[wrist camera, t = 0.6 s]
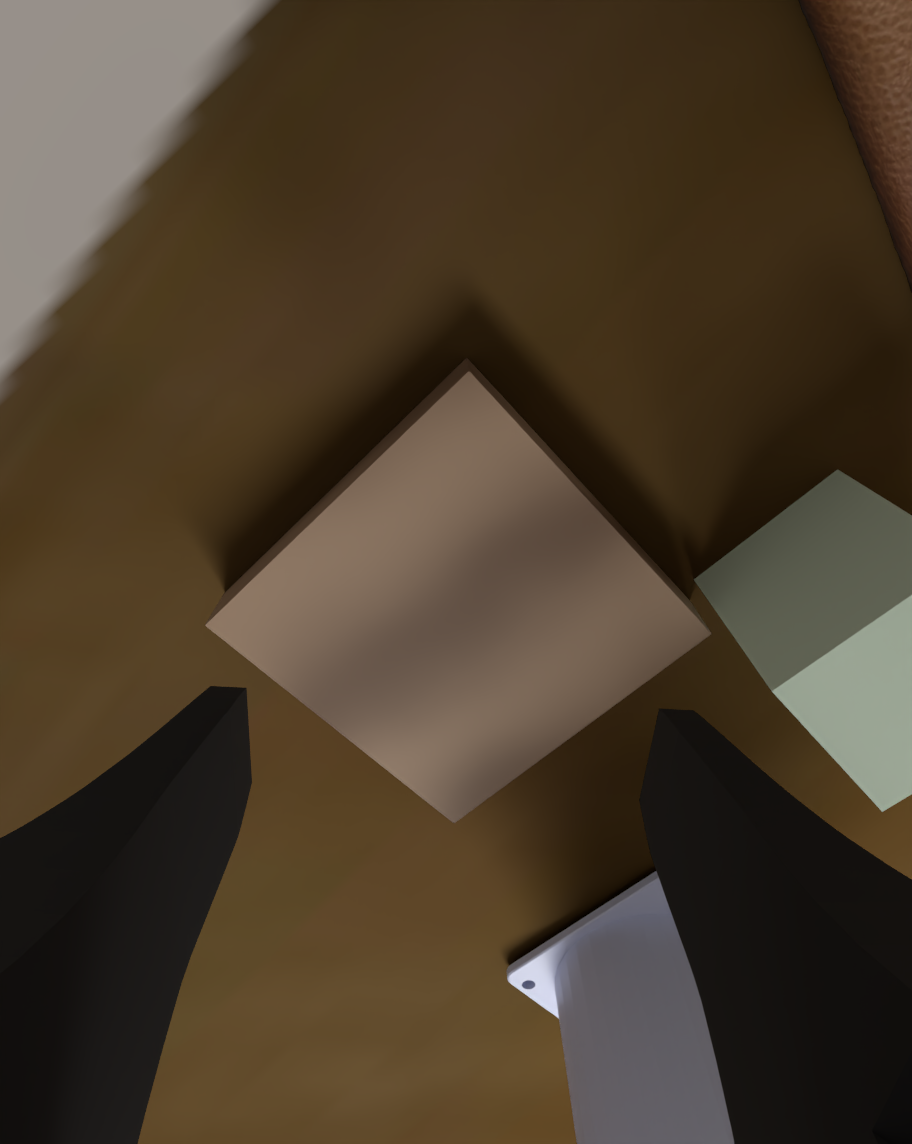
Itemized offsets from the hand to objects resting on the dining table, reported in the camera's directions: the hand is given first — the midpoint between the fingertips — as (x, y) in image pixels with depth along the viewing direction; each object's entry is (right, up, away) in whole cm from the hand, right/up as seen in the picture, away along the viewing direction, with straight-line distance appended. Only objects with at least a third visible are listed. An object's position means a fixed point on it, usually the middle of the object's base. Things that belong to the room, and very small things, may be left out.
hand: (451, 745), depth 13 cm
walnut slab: (0, +2, +10) cm, 10 cm away
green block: (+11, +3, +10) cm, 15 cm away
